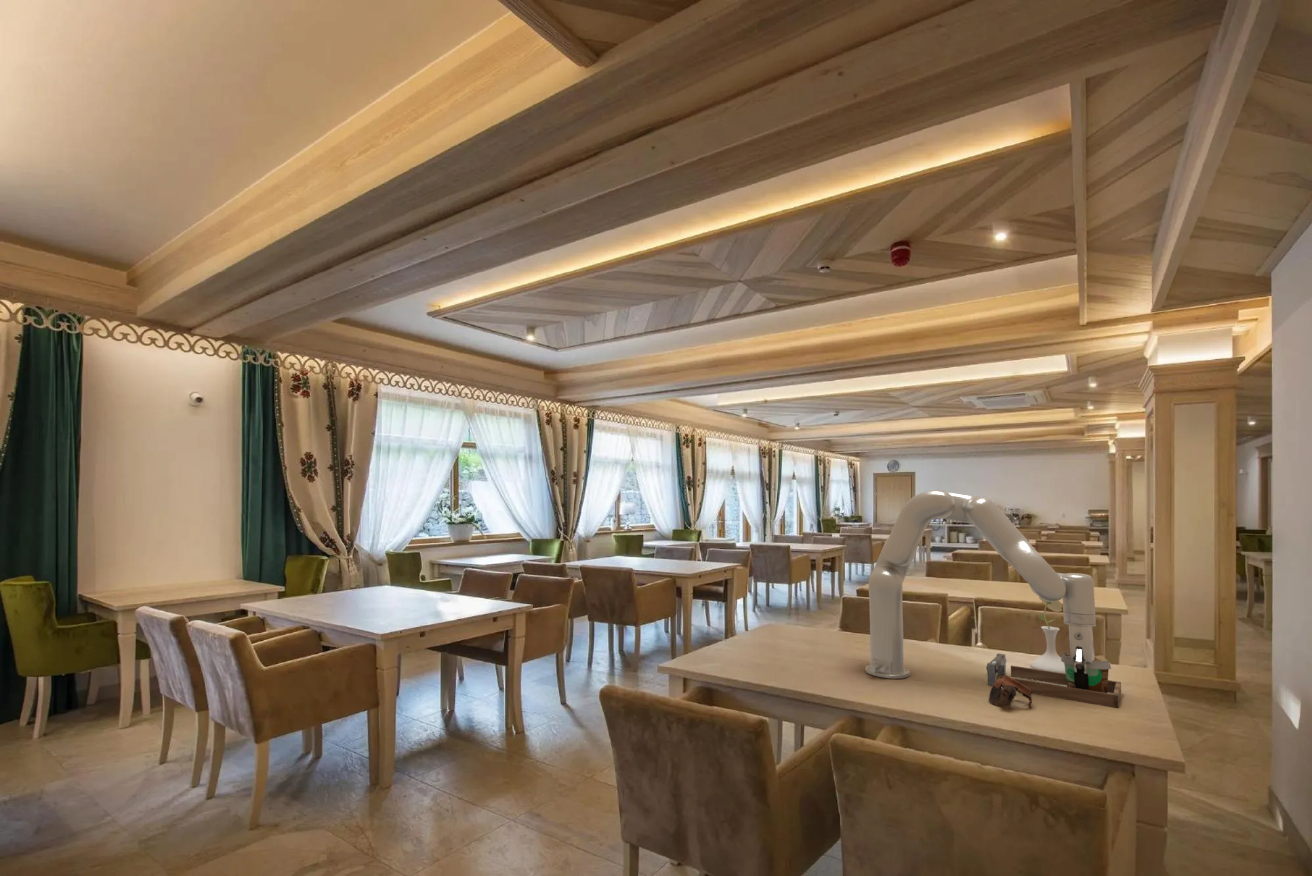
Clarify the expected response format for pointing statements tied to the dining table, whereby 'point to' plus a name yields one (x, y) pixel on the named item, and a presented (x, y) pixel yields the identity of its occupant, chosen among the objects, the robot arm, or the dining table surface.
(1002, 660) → the grey arched handle
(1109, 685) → the long wooden tray
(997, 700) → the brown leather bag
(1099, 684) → the food container
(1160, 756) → the dining table surface
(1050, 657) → the flower in vase
